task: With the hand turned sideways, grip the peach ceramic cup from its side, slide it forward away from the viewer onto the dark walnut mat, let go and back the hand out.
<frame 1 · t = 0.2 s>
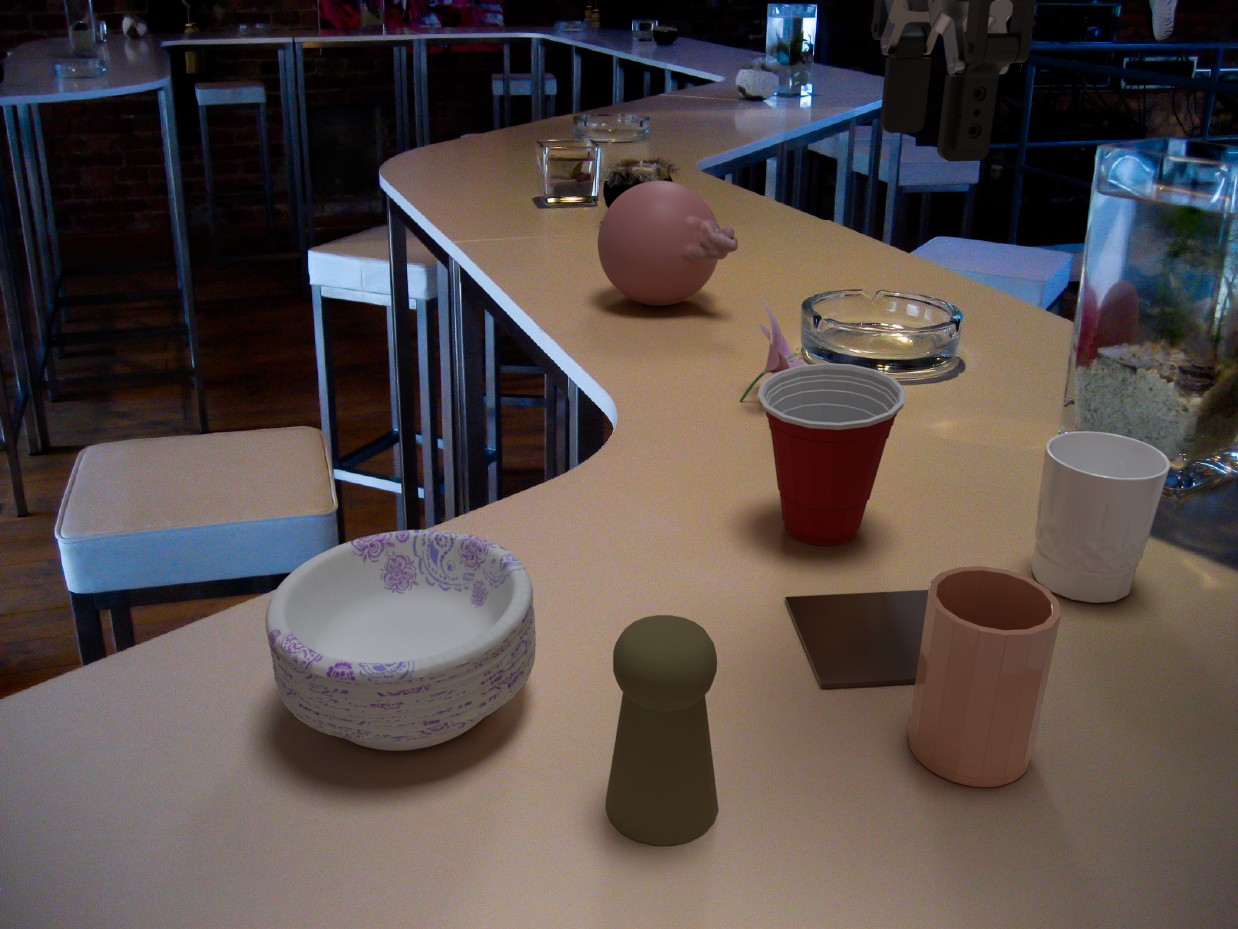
hand: (929, 144, 54), 32 cm above the worktop, tool pointing down, fingers open, 8 cm apart
paper bowls: (413, 704, 66), on the worktop
white cup: (1080, 581, 79), on the worktop
walnut mat: (905, 637, 72), on the worktop
balloon: (670, 308, 138), on the worktop
olive peg doll: (661, 806, 58), on the worktop
peach cup: (967, 747, 62), on the worktop
lily: (782, 405, 109), on the worktop
plastic cup: (818, 531, 85), on the worktop
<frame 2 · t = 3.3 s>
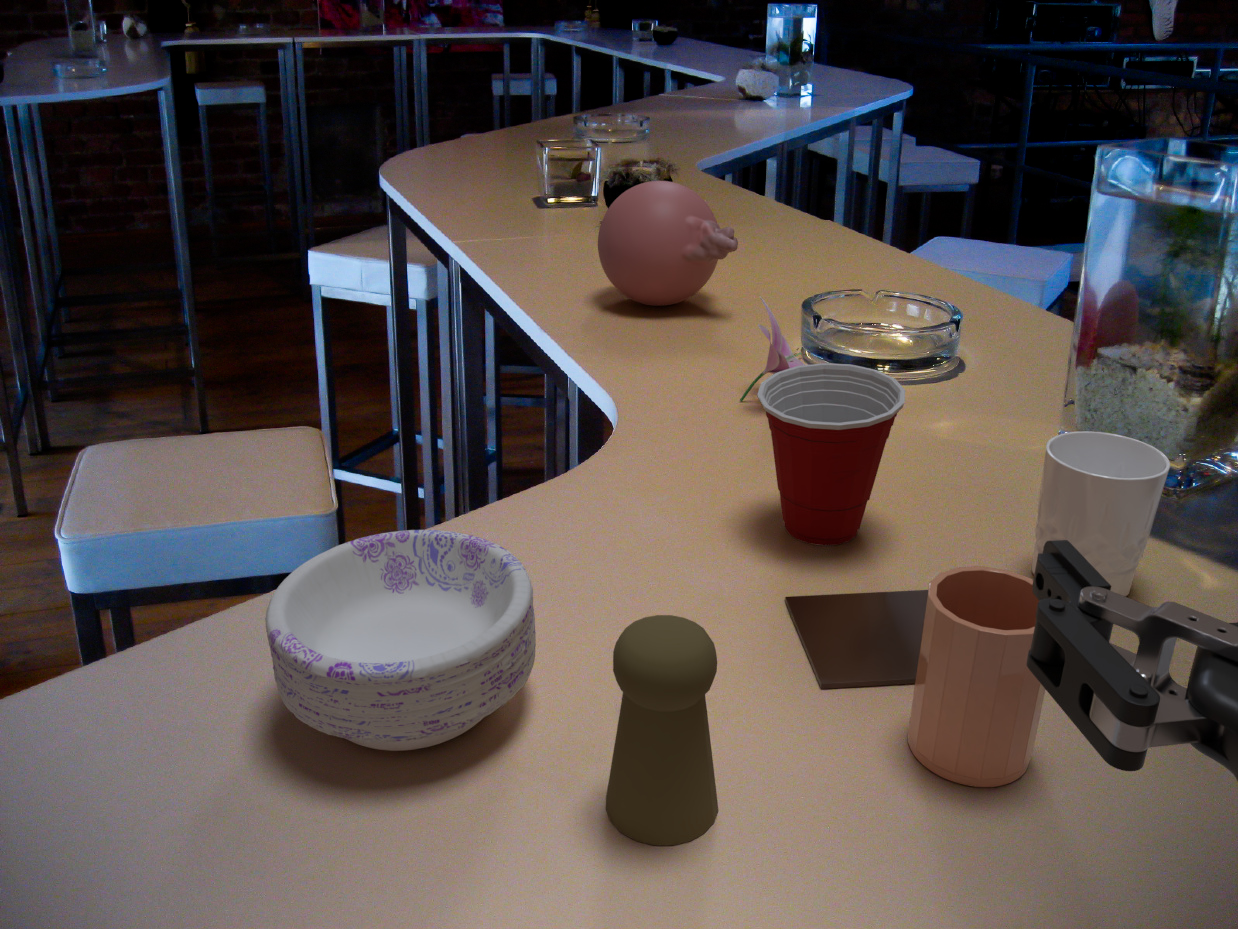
hand: (1155, 556, 42), 20 cm above the worktop, tool horizontal, fingers open, 8 cm apart
nothing on the worktop moved.
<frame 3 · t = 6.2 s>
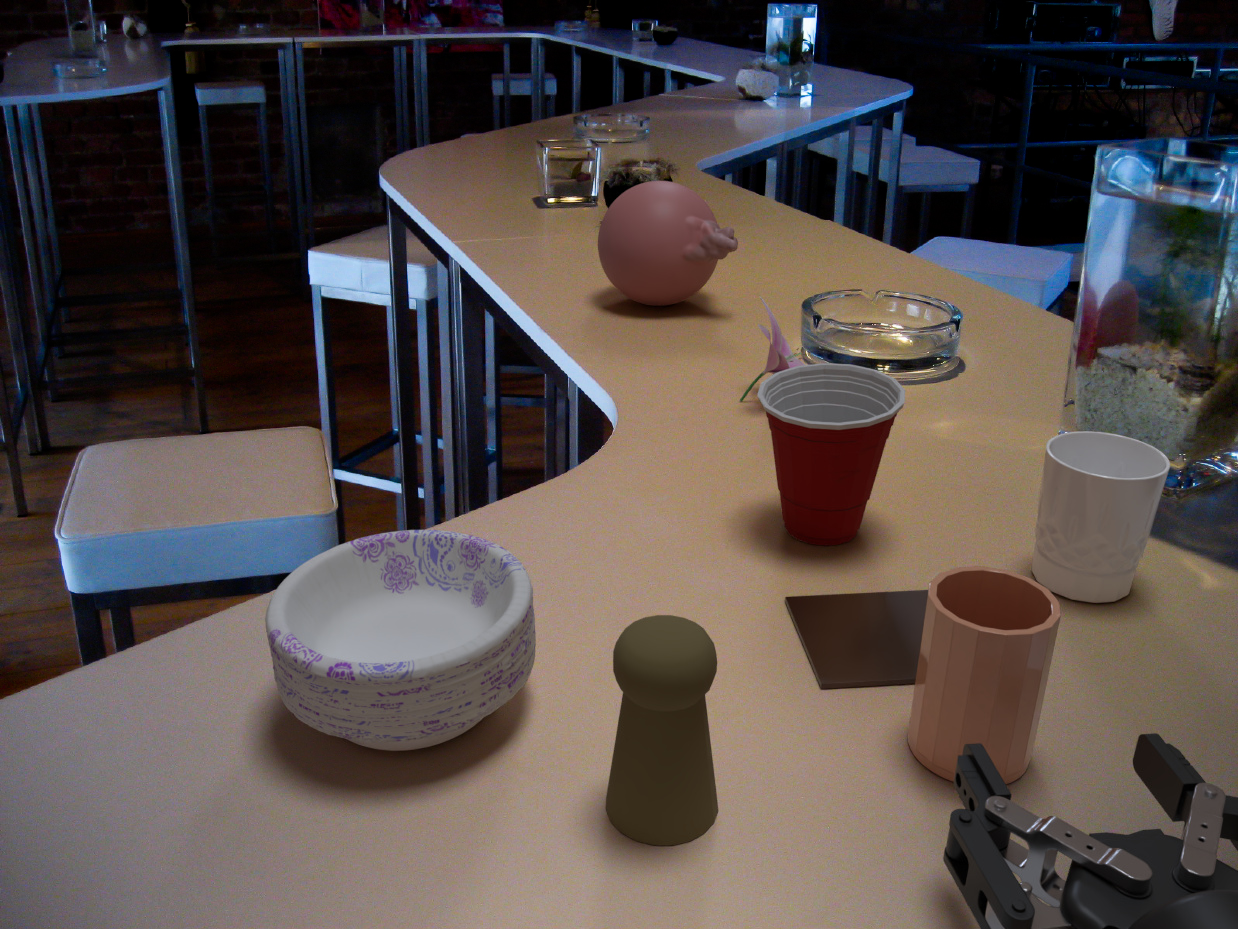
hand: (1055, 752, 51), 7 cm above the worktop, tool horizontal, fingers open, 8 cm apart
nothing on the worktop moved.
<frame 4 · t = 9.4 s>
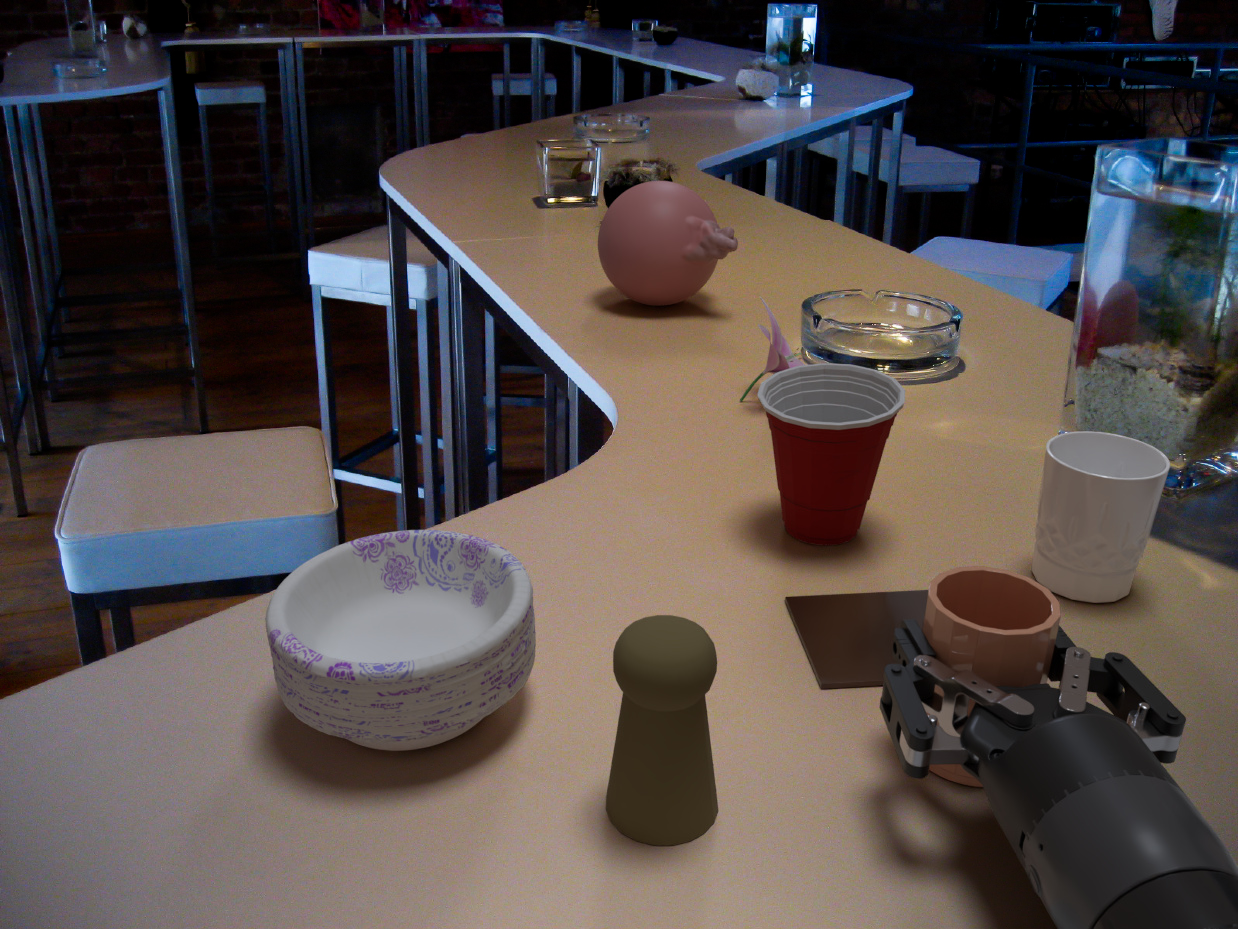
hand: (968, 629, 61), 7 cm above the worktop, tool horizontal, fingers closed on peach cup, 6 cm apart
peach cup: (967, 746, 62), on the worktop, touching gripper
everything else where it was.
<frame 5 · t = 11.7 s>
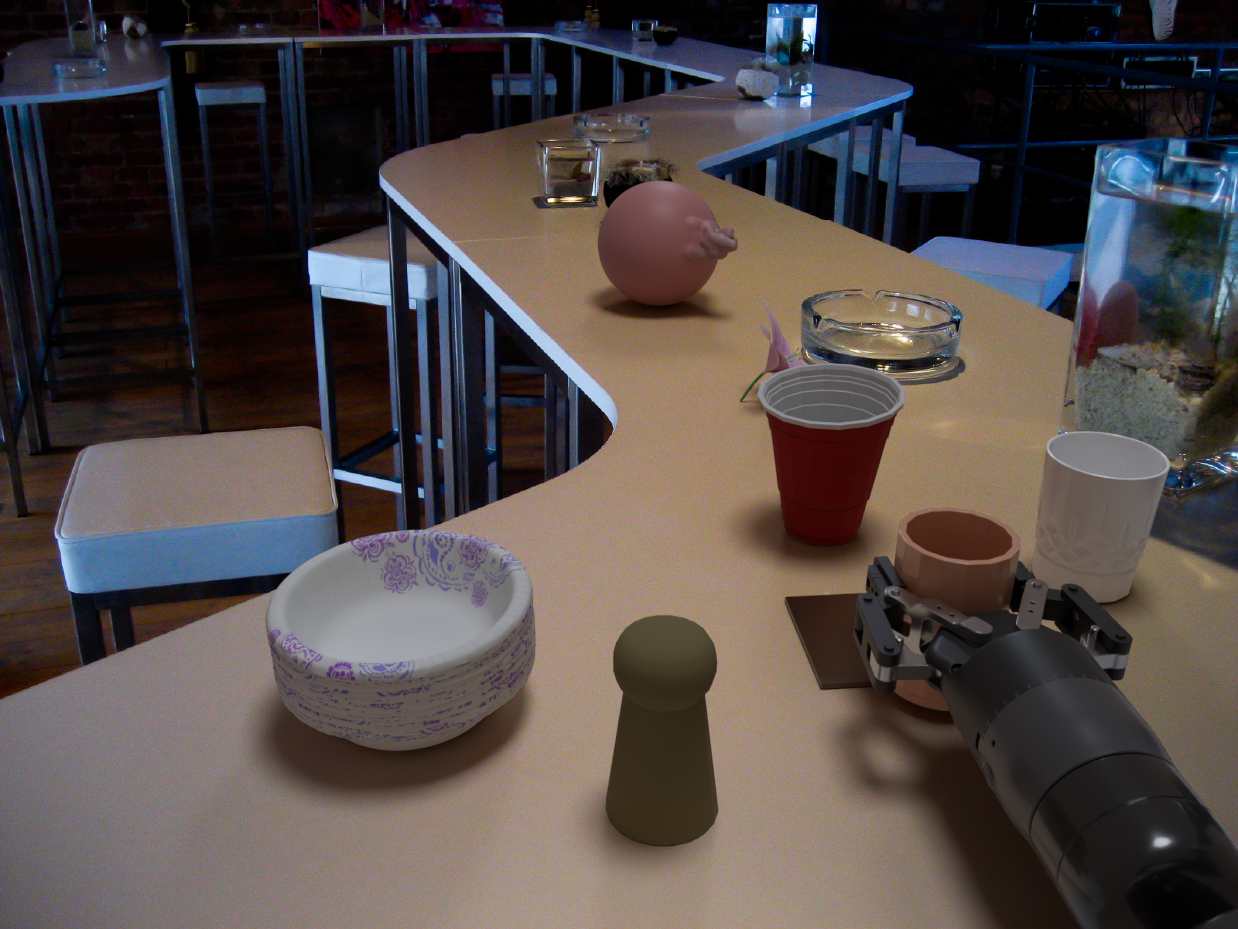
hand: (936, 566, 66), 7 cm above the worktop, tool horizontal, fingers closed on peach cup, 6 cm apart
peach cup: (937, 677, 67), point 1 cm above the worktop, touching gripper
everything else where it was.
when the fingers open (7 cm above the worktop, at t = 13.9 s): peach cup stays where it is, resting on walnut mat.
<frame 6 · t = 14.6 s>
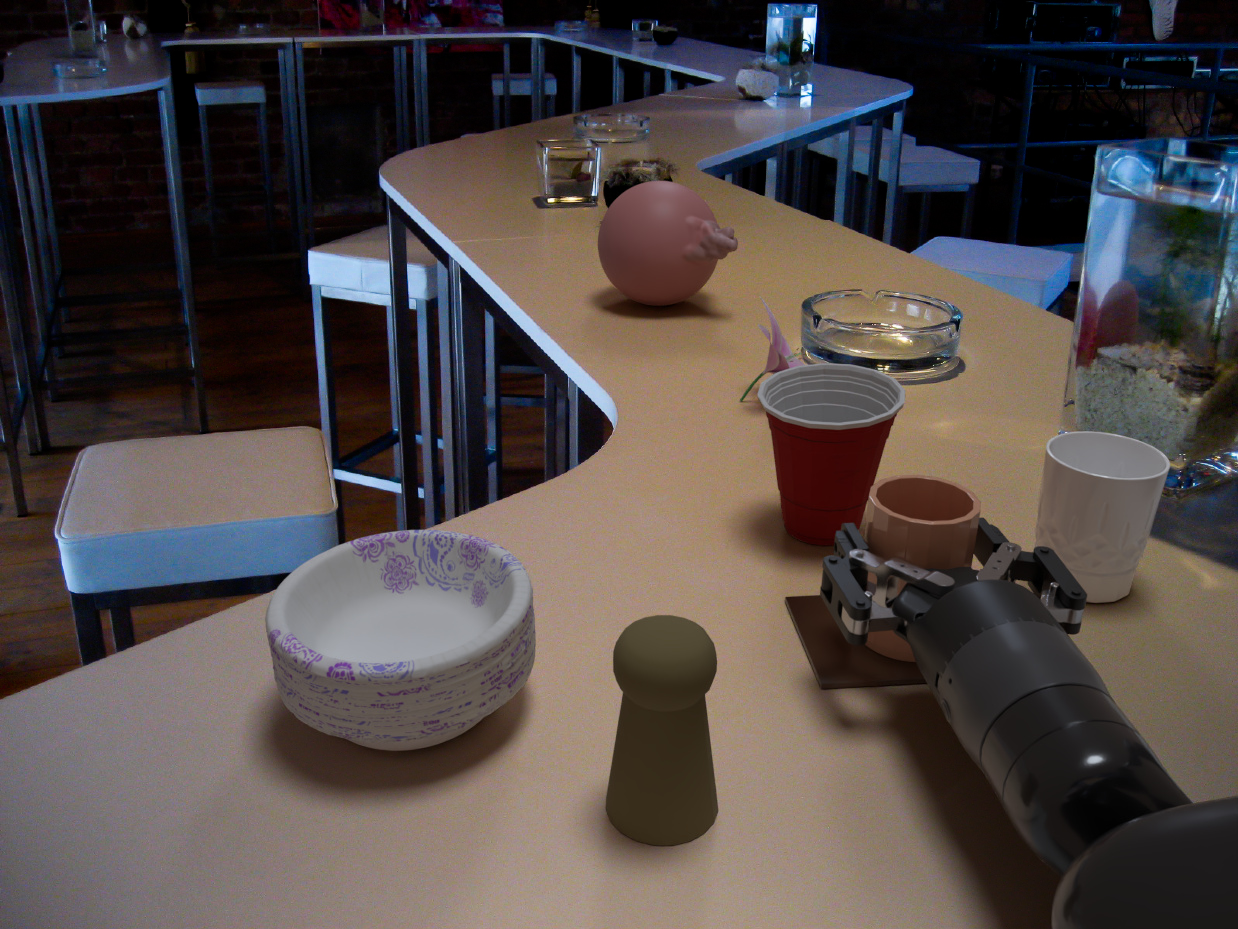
hand: (909, 532, 70), 7 cm above the worktop, tool horizontal, fingers open, 8 cm apart
peach cup: (906, 632, 72), resting on walnut mat
everything else where it was.
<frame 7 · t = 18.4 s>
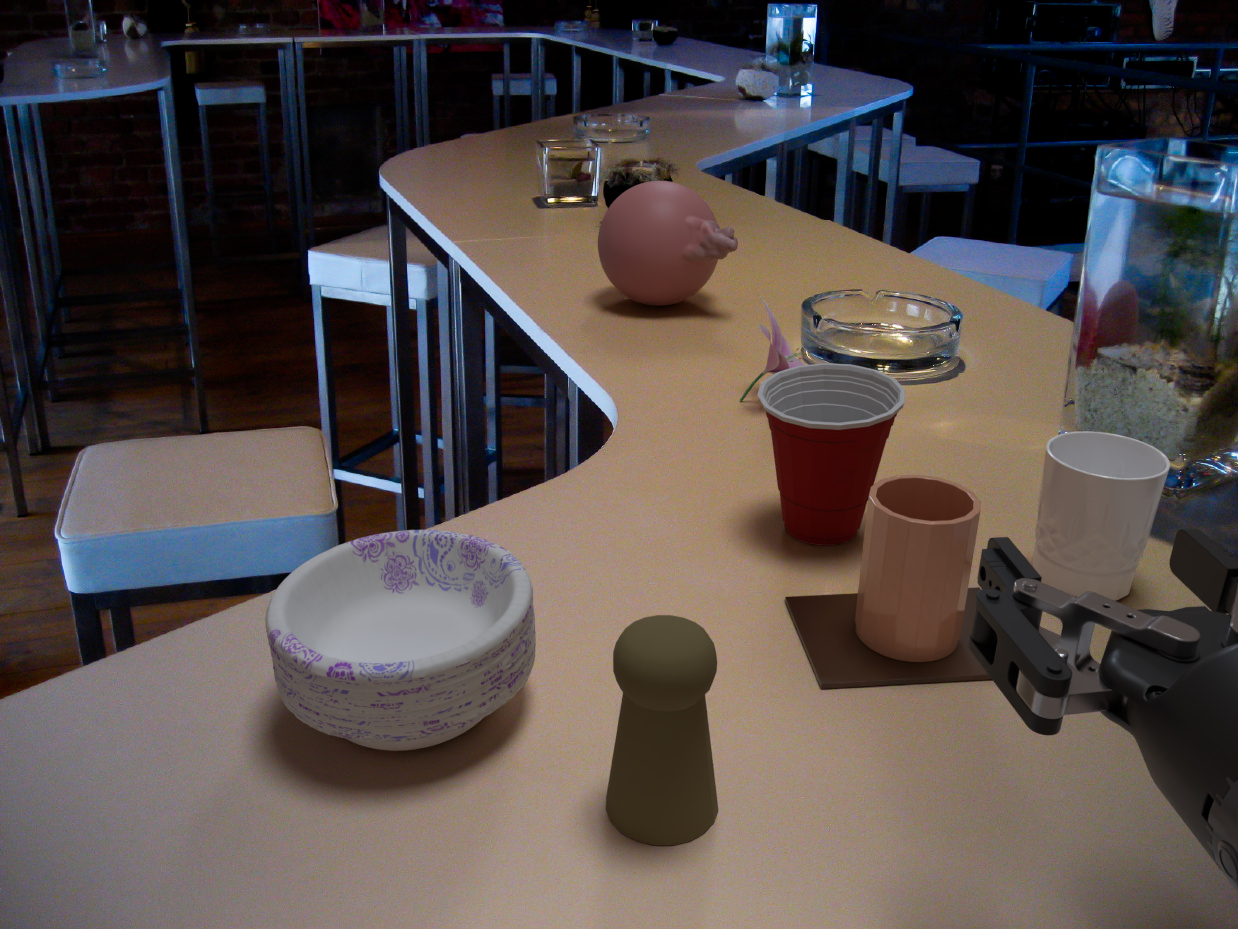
hand: (1086, 550, 48), 17 cm above the worktop, tool horizontal, fingers open, 8 cm apart
nothing on the worktop moved.
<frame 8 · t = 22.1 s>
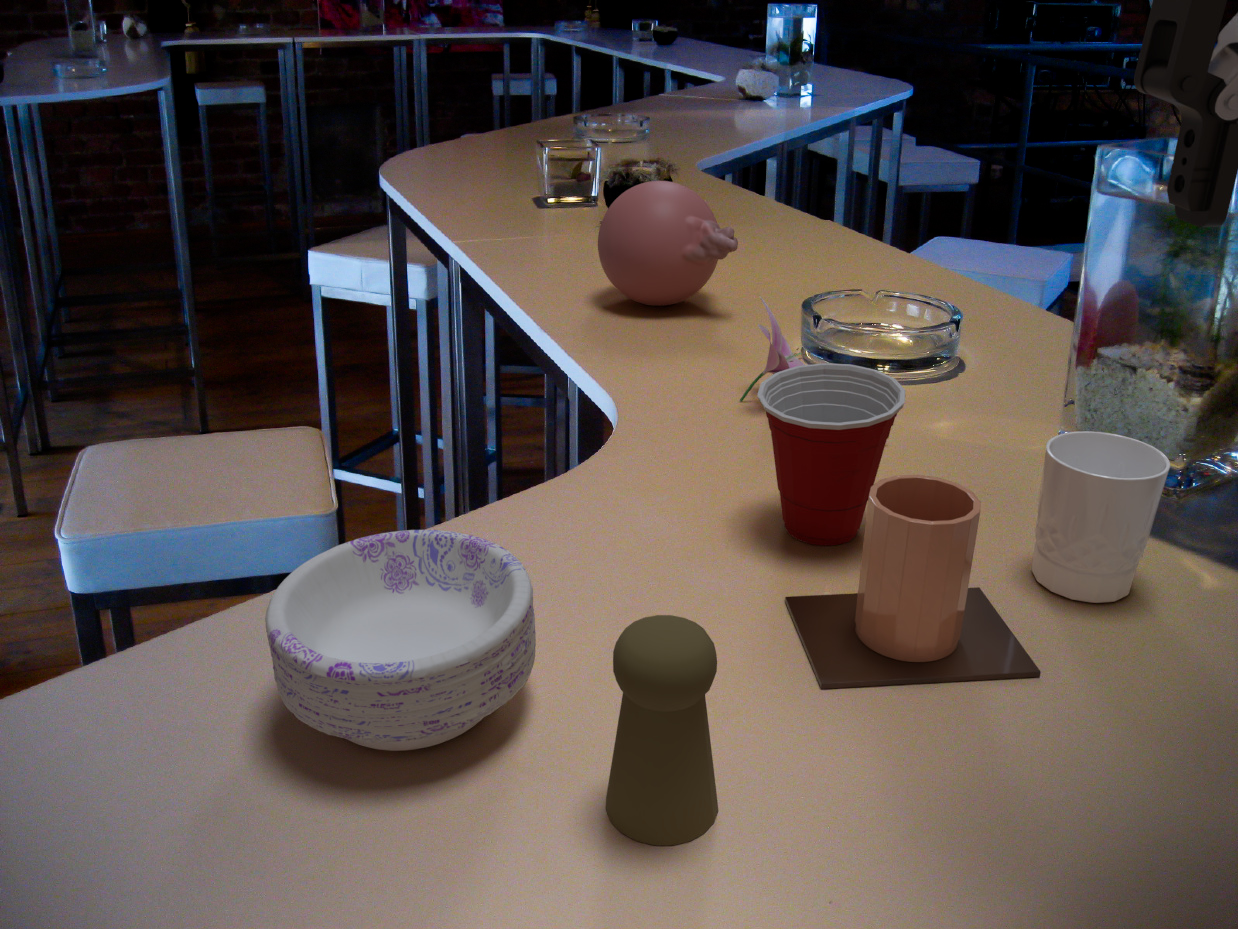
nothing on the worktop moved.
at the end: peach cup 0.1 cm from the target spot, resting on walnut mat; peach cup tilted 0°; peach cup moved 10.9 cm from its start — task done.
